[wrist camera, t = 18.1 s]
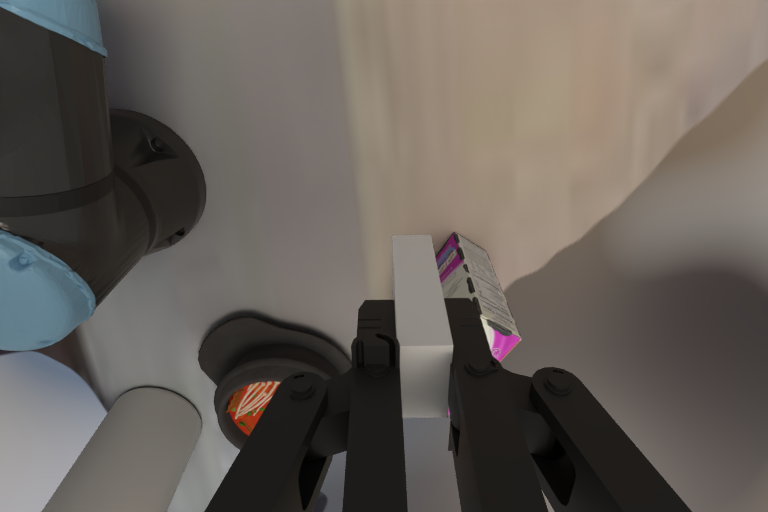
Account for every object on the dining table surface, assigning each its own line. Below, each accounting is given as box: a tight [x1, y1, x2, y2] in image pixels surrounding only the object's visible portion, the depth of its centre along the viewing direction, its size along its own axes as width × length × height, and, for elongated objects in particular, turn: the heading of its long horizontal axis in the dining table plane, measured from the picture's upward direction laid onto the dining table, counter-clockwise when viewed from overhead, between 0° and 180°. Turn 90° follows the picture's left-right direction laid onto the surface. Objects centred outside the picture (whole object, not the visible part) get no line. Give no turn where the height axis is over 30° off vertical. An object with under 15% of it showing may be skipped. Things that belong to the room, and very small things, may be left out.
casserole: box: [198, 317, 352, 450], centre depth 61 cm, size 25×19×8 cm
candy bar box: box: [435, 233, 522, 415], centre depth 49 cm, size 11×5×16 cm, turn 149°
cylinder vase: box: [42, 387, 201, 512], centre depth 58 cm, size 12×12×25 cm
